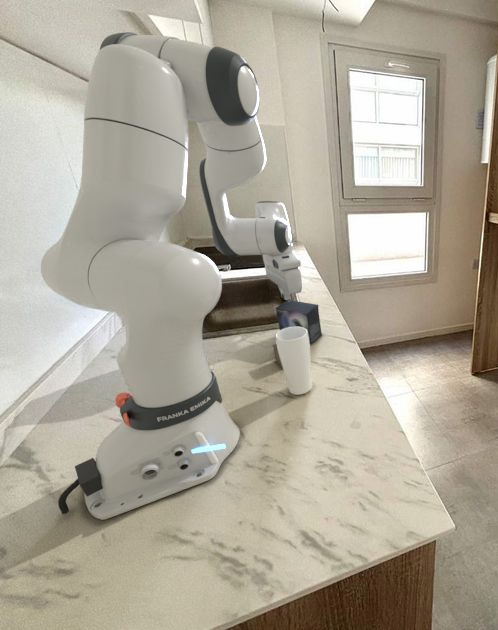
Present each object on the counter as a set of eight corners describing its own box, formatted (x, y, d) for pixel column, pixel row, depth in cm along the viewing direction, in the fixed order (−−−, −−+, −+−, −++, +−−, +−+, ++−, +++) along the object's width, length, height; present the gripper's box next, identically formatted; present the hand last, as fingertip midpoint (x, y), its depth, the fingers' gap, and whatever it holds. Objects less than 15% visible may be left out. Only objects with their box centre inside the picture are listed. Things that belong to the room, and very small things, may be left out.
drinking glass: (300, 377, 82) (291, 323, 76) (321, 384, 80) (314, 330, 73) (279, 392, 77) (267, 336, 70) (301, 401, 74) (291, 343, 68)
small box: (279, 339, 99) (273, 307, 94) (293, 329, 104) (288, 299, 100) (310, 345, 96) (305, 312, 92) (322, 335, 102) (318, 303, 97)
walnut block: (283, 369, 85) (280, 352, 83) (275, 361, 88) (272, 345, 86) (301, 361, 88) (299, 345, 86) (293, 354, 92) (291, 338, 89)
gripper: (256, 251, 105) (264, 291, 111) (281, 266, 91) (289, 311, 97) (276, 248, 109) (283, 287, 115) (303, 262, 95) (309, 305, 101)
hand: (286, 298), depth 106 cm, fingers closed
